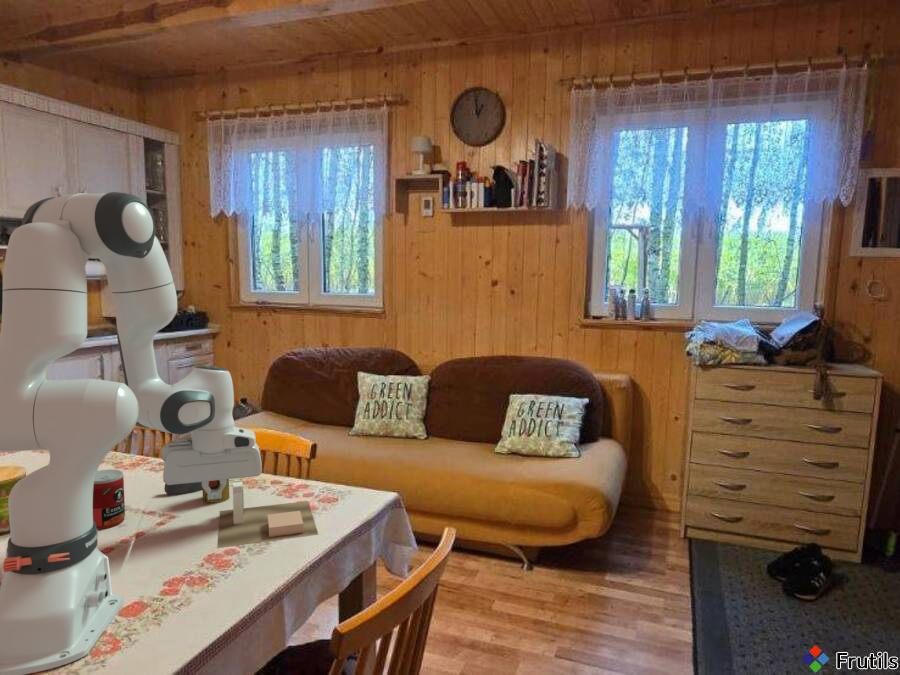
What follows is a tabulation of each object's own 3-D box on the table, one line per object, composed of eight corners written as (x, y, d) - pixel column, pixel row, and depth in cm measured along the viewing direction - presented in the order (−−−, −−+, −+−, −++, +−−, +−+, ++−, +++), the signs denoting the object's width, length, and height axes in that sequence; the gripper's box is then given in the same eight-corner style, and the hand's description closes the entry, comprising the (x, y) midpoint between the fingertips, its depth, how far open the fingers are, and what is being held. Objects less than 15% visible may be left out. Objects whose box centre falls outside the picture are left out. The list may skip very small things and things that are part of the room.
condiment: (202, 511, 137) (200, 462, 135) (199, 498, 144) (197, 451, 143) (234, 506, 140) (233, 458, 139) (230, 493, 147) (229, 448, 146)
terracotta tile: (269, 537, 121) (303, 533, 123) (269, 527, 121) (303, 523, 123) (267, 523, 128) (300, 519, 130) (267, 514, 127) (299, 510, 130)
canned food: (107, 531, 125) (105, 482, 124) (76, 527, 126) (73, 479, 125) (133, 517, 132) (131, 470, 131) (103, 513, 134) (101, 467, 133)
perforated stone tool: (167, 503, 141) (166, 475, 140) (161, 496, 145) (160, 469, 144) (229, 489, 151) (228, 463, 150) (221, 483, 155) (221, 458, 154)
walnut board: (318, 539, 123) (318, 534, 123) (217, 553, 116) (217, 547, 116) (308, 505, 141) (308, 500, 141) (220, 515, 134) (219, 511, 134)
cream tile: (243, 523, 128) (243, 492, 127) (233, 524, 127) (232, 493, 126) (243, 510, 134) (242, 481, 133) (233, 511, 133) (233, 482, 133)
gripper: (159, 446, 120) (161, 509, 122) (261, 438, 127) (262, 498, 129) (162, 437, 126) (164, 498, 128) (260, 430, 133) (261, 488, 135)
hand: (214, 498), depth 128 cm, fingers closed
